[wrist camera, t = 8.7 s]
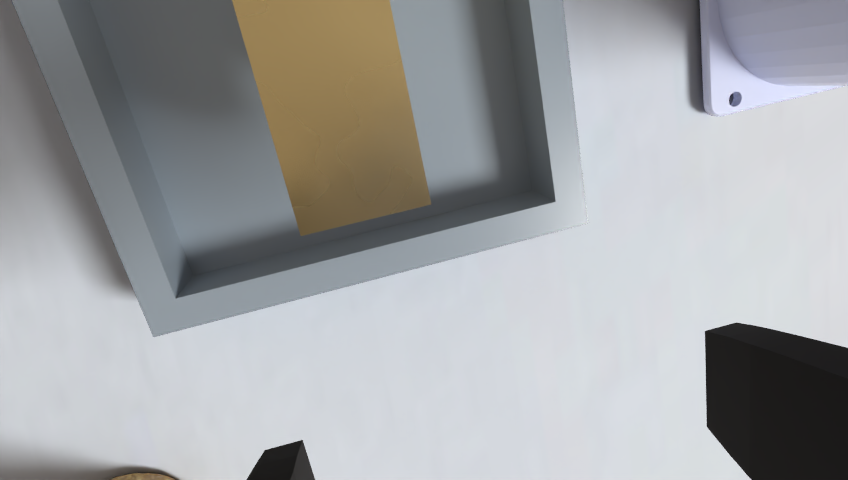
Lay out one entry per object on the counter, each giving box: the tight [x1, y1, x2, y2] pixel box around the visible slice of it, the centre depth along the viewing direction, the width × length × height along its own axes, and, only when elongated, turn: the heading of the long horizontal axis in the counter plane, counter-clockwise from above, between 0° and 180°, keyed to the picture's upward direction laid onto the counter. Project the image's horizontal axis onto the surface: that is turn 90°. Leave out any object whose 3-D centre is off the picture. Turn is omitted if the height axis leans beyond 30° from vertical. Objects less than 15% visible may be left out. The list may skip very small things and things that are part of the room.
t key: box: [232, 0, 431, 236], centre depth 13 cm, size 8×3×7 cm, turn 12°
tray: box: [12, 0, 588, 337], centre depth 15 cm, size 14×14×2 cm
